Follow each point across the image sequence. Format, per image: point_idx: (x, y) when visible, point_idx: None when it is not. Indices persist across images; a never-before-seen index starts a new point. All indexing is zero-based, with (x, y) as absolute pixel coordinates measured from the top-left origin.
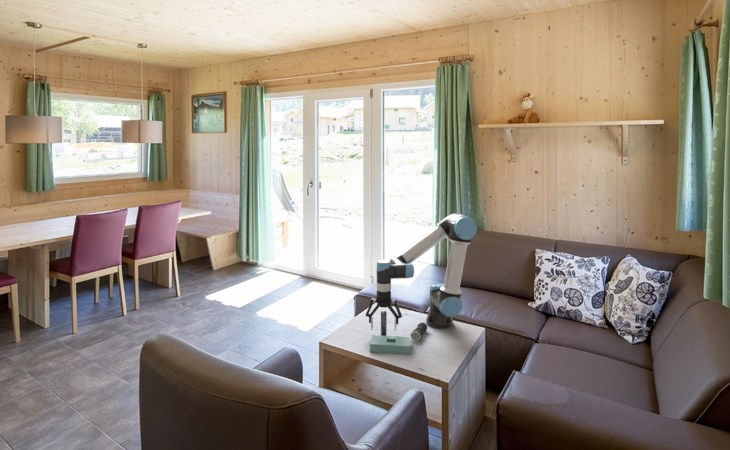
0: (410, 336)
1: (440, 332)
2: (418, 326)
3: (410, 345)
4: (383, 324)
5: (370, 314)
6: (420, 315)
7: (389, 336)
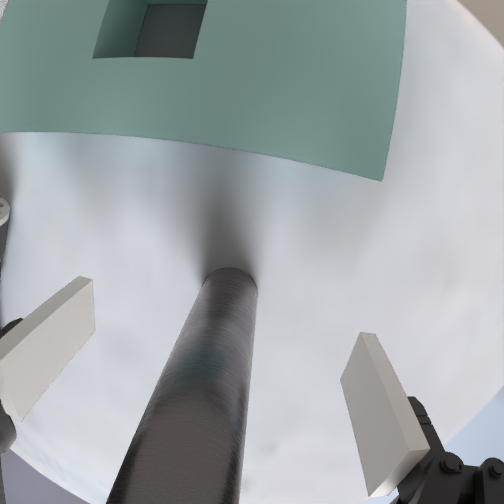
0: (1, 219)
1: None
2: None
3: None
4: (208, 354)
5: (455, 498)
6: (58, 480)
7: (155, 119)
